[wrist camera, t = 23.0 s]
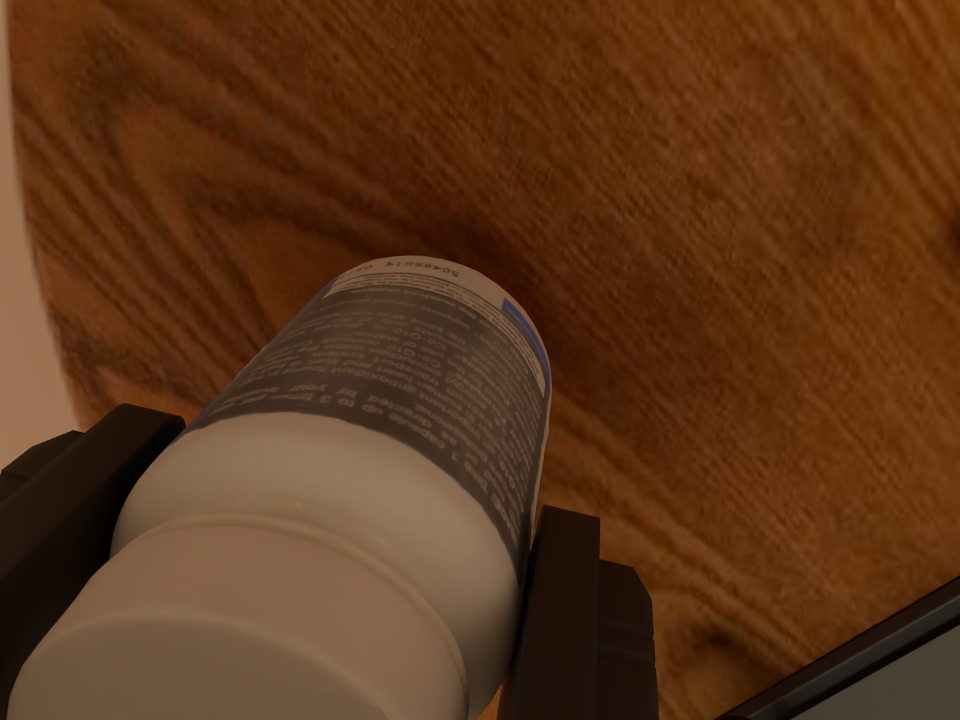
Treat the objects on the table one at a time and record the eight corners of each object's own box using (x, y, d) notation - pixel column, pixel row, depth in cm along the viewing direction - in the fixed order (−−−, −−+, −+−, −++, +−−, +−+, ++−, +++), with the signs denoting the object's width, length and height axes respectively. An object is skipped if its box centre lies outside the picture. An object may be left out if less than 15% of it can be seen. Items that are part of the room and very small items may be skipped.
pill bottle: (277, 250, 14) (-123, 552, 6) (552, 248, 13) (471, 588, 6) (314, 486, 16) (39, 935, 8) (556, 495, 15) (499, 997, 8)
